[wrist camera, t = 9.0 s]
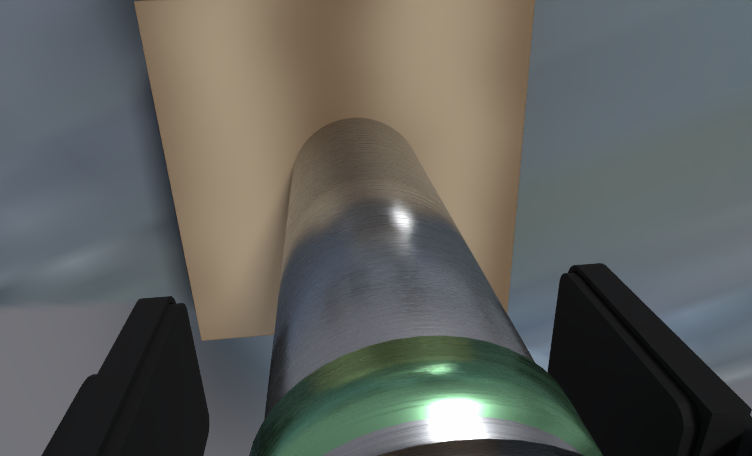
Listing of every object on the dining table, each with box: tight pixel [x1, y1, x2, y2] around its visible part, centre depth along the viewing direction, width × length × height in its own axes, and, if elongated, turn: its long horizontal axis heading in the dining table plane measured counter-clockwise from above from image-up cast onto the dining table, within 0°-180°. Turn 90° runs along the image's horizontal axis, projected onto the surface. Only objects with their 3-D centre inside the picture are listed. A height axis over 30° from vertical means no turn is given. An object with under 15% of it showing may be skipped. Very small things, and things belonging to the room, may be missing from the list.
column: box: [249, 118, 603, 456], centre depth 12 cm, size 5×5×15 cm
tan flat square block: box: [134, 0, 535, 341], centre depth 20 cm, size 12×12×3 cm
